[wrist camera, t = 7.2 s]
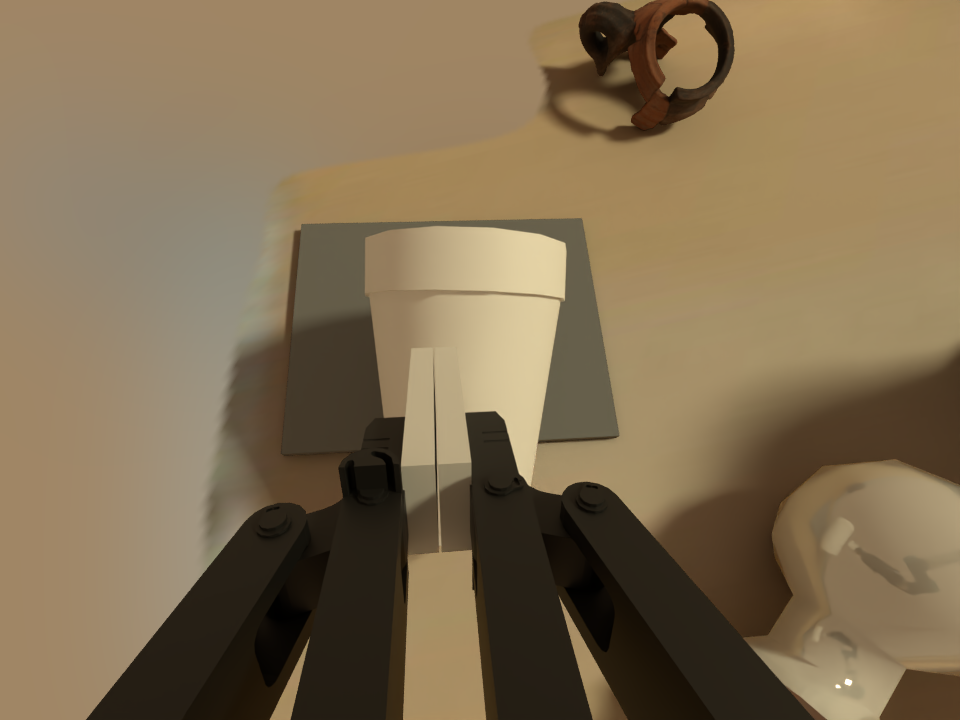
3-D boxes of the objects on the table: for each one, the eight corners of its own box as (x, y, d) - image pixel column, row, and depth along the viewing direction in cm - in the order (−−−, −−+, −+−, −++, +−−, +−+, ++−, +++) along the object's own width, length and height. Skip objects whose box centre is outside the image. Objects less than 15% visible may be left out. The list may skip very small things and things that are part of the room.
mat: (616, 437, 28) (619, 435, 28) (284, 455, 27) (280, 453, 26) (579, 223, 34) (582, 218, 34) (304, 229, 33) (301, 224, 32)
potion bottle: (857, 496, 29) (727, 701, 26) (804, 399, 25) (645, 629, 23) (1092, 579, 21) (939, 891, 18) (1066, 455, 17) (867, 828, 14)
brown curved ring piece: (691, 59, 42) (762, 5, 34) (658, 162, 43) (720, 133, 35) (573, 3, 39) (621, -71, 31) (541, 114, 40) (579, 70, 32)
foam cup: (391, 587, 16) (395, 214, 15) (344, 498, 25) (345, 252, 24) (599, 538, 21) (612, 244, 20) (499, 477, 29) (505, 267, 28)
